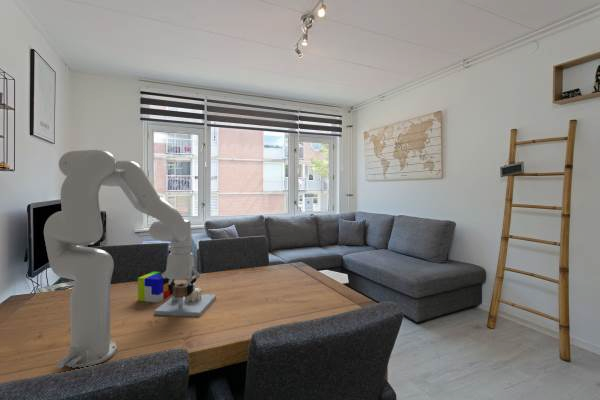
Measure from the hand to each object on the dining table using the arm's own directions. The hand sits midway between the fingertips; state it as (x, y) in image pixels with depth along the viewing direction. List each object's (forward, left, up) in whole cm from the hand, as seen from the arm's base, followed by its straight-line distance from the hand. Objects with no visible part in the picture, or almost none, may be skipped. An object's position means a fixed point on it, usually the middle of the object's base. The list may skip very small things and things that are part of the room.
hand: (181, 293), depth 120 cm
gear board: (+4, -1, -7) cm, 8 cm away
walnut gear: (0, 0, -1) cm, 1 cm away
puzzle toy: (+12, +17, -7) cm, 22 cm away
